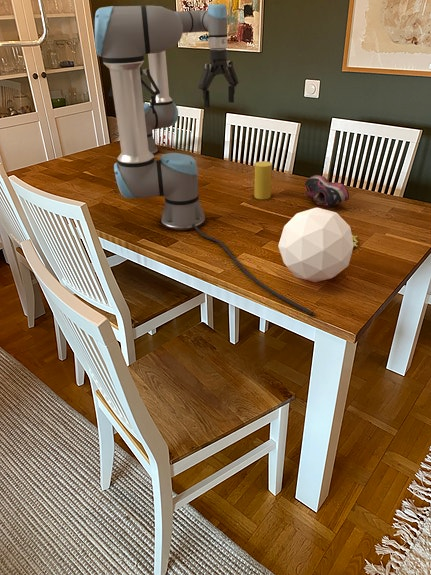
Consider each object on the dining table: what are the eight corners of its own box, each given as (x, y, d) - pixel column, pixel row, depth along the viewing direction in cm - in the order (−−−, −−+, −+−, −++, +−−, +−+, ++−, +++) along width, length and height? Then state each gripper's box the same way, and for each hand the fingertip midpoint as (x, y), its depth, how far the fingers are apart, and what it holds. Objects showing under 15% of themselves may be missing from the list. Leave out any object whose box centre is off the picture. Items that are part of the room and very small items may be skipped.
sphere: (322, 305, 122) (338, 279, 104) (262, 266, 127) (267, 235, 108) (357, 254, 127) (378, 220, 109) (298, 218, 132) (308, 180, 113)
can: (267, 192, 178) (268, 160, 171) (273, 198, 173) (274, 165, 166) (252, 194, 177) (252, 162, 170) (257, 200, 172) (258, 167, 165)
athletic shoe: (314, 174, 176) (289, 181, 172) (350, 168, 156) (323, 177, 152) (319, 202, 179) (295, 210, 175) (356, 200, 159) (329, 209, 155)
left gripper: (199, 52, 171) (201, 109, 183) (247, 47, 184) (246, 101, 196) (188, 51, 176) (191, 107, 188) (235, 46, 189) (235, 99, 201)
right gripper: (162, 53, 173) (166, 110, 185) (97, 56, 171) (106, 113, 182) (163, 54, 167) (167, 114, 179) (96, 57, 165) (105, 117, 176)
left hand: (219, 104), depth 192 cm, fingers open, 13 cm apart
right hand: (136, 114), depth 180 cm, fingers open, 13 cm apart
